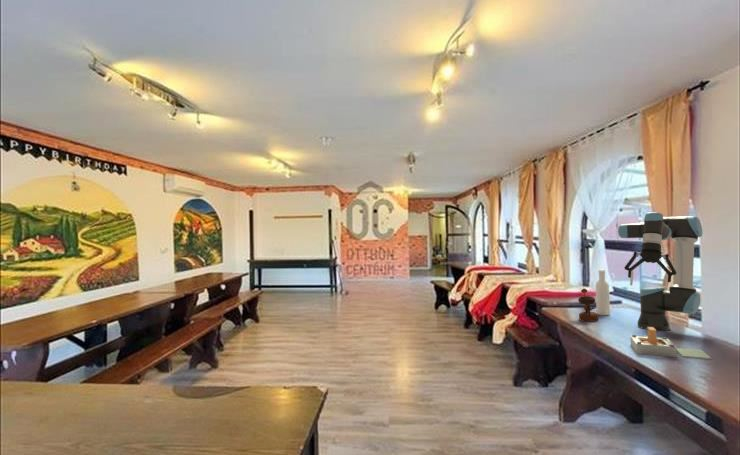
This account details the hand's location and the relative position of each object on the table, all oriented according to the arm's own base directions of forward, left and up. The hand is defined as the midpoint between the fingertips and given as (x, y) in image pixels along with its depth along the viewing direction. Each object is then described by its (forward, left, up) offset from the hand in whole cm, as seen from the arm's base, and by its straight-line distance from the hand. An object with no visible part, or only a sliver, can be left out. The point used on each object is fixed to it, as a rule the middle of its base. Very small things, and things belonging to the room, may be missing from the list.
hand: (648, 286), depth 186 cm
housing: (+1, +1, -30) cm, 30 cm away
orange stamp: (+1, +1, -30) cm, 30 cm away
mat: (+1, +16, -30) cm, 34 cm away
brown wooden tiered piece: (-58, -21, -30) cm, 69 cm away
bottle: (-79, -11, -30) cm, 85 cm away
